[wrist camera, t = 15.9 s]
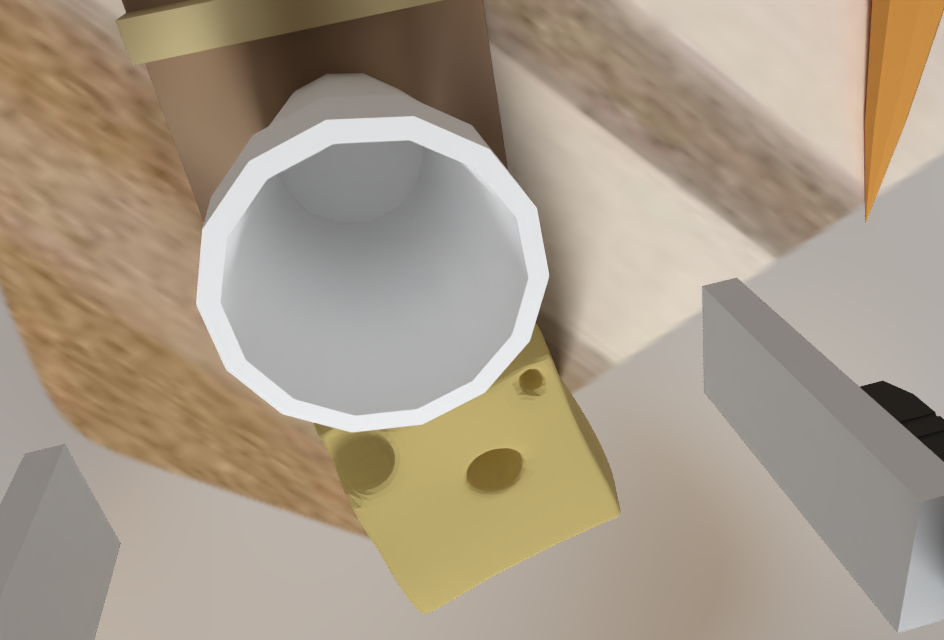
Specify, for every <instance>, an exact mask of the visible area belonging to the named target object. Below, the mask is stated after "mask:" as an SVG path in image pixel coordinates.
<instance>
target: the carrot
mask: <svg viewBox="0 0 944 640" xmlns="http://www.w3.org/2000/svg"><path fill="white" fill-rule="evenodd" d="M943 11H944V0H872V15H871V31H870V48H869V65H868V82H867V99H866V116H865V222H866V221H867V218H868V216H869V213H870V210H871V208H872V205H873V203H874V200H875V198H876V195H877V193H878V190H879V188H880V185H881V183H882V180H883V178H884V175H885V173H886V170H887V168H888V165H889V163H890V160H891V158H892V155H893V153H894V150H895V148H896V145H897V142H898V140H899V137H900V135H901V132H902V130H903V127H904V125H905V122H906V120H907V117H908V114H909V111H910V108H911V105H912V102H913V99H914V96H915V94H916V91H917V88H918V85H919V82H920V79H921V76H922V73H923V70H924V67H925V64H926V61H927V58H928V55H929V52H930V49H931V46H932V44H933V41H934V38H935V35H936V32H937V29H938V26H939V23H940V20H941V17H942V14H943Z"/></svg>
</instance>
